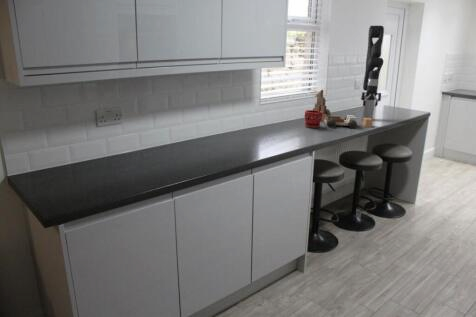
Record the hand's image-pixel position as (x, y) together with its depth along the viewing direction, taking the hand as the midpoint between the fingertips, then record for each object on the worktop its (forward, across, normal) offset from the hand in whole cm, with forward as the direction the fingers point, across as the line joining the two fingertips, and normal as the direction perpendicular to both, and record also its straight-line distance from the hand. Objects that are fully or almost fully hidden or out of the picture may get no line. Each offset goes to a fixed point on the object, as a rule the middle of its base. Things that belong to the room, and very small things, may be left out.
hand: (369, 106), depth 301 cm
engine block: (+16, 0, 0) cm, 16 cm away
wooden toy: (+16, +34, -16) cm, 41 cm away
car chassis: (+16, +22, +2) cm, 27 cm away
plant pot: (+16, +44, +10) cm, 48 cm away
